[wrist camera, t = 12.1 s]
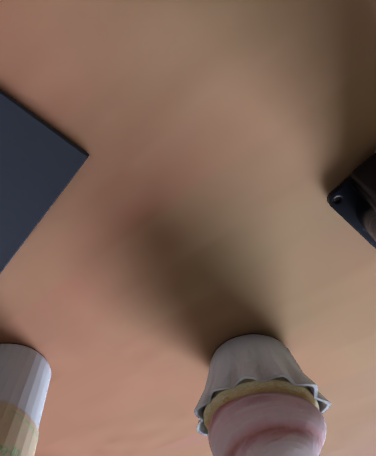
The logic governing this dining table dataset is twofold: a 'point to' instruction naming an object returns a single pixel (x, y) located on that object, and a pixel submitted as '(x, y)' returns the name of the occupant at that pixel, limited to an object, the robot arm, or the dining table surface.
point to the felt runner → (29, 172)
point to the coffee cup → (21, 398)
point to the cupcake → (260, 402)
